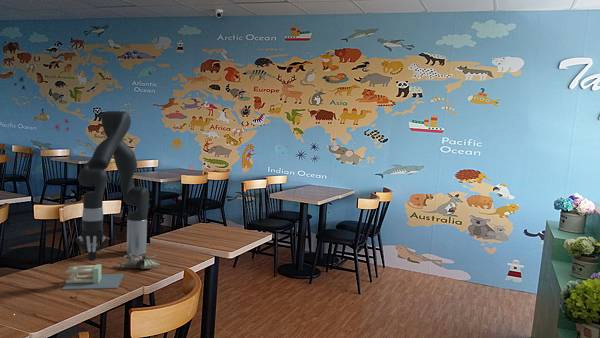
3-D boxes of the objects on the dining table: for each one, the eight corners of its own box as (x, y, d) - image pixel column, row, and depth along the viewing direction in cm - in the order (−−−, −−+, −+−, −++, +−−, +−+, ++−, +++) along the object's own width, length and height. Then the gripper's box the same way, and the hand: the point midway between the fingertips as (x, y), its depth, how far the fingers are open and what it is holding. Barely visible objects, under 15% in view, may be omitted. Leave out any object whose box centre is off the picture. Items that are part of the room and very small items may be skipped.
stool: (101, 278, 185) (69, 279, 182) (101, 264, 184) (69, 265, 181) (98, 283, 179) (65, 284, 176) (98, 268, 178) (65, 269, 176)
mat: (73, 275, 187) (73, 274, 187) (123, 274, 191) (123, 273, 191) (61, 289, 171) (61, 288, 171) (117, 288, 176) (117, 287, 176)
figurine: (140, 248, 214) (171, 253, 209) (139, 261, 214) (170, 266, 210) (112, 257, 195) (145, 262, 190) (111, 270, 195) (144, 276, 190)
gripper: (112, 216, 184) (111, 257, 186) (77, 216, 181) (76, 258, 182) (108, 220, 177) (108, 263, 178) (72, 220, 174) (71, 263, 175)
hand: (92, 260), depth 180 cm, fingers closed
